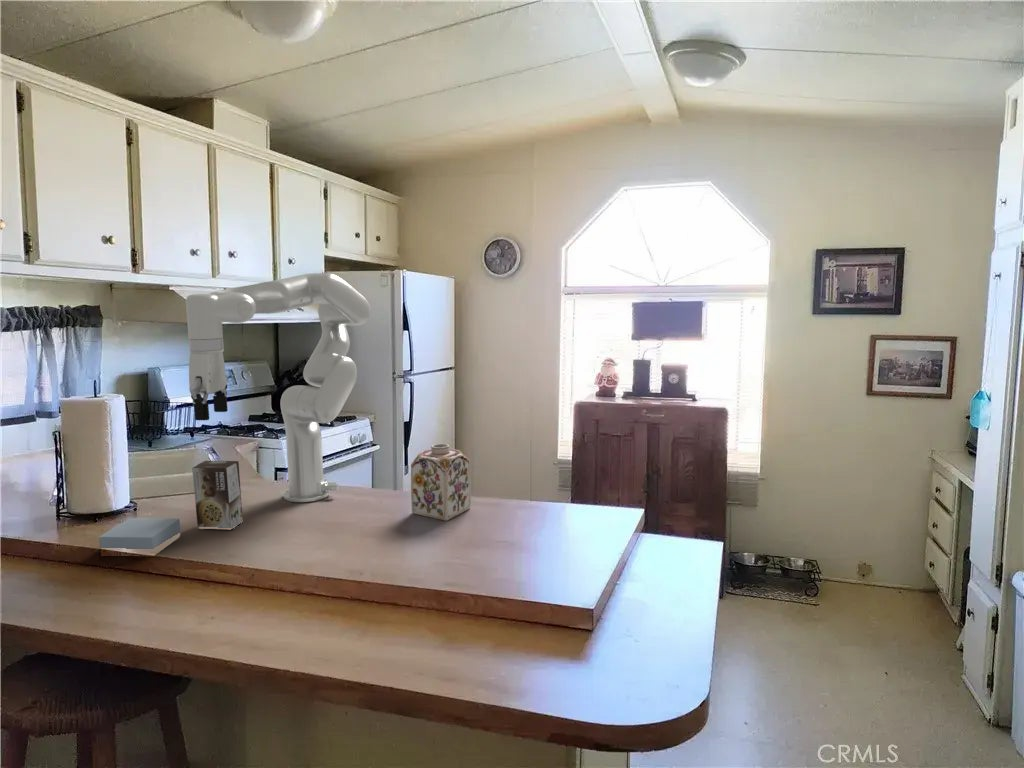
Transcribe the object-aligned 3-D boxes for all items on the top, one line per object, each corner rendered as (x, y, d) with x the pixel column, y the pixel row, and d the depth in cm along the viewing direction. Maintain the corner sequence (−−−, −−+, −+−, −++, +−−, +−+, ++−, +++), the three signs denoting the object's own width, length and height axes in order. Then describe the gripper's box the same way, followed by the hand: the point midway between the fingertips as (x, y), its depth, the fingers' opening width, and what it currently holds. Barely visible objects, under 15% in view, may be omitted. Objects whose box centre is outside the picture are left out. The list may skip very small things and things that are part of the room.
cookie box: (244, 522, 175) (240, 460, 172) (231, 531, 168) (227, 467, 166) (210, 520, 176) (205, 459, 173) (196, 530, 169) (191, 466, 167)
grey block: (181, 538, 165) (179, 518, 164) (153, 558, 153) (152, 537, 152) (131, 537, 165) (129, 518, 165) (101, 558, 154) (98, 537, 153)
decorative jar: (446, 522, 174) (445, 453, 172) (410, 514, 180) (408, 447, 177) (472, 508, 185) (471, 443, 182) (437, 501, 190) (435, 438, 188)
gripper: (208, 342, 174) (213, 408, 176) (172, 349, 156) (178, 423, 159) (237, 342, 173) (242, 408, 176) (204, 349, 156) (210, 423, 159)
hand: (211, 415), depth 168 cm, fingers open, 9 cm apart
